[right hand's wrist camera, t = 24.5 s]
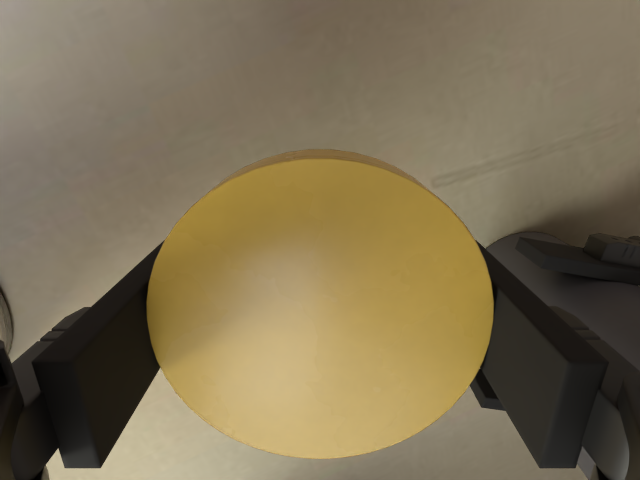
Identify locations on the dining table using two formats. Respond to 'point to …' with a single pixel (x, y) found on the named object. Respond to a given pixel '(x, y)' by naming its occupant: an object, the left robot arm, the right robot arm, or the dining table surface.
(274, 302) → the lid
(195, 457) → the dining table surface
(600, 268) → the left robot arm
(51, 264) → the dining table surface
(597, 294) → the jar
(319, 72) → the dining table surface
